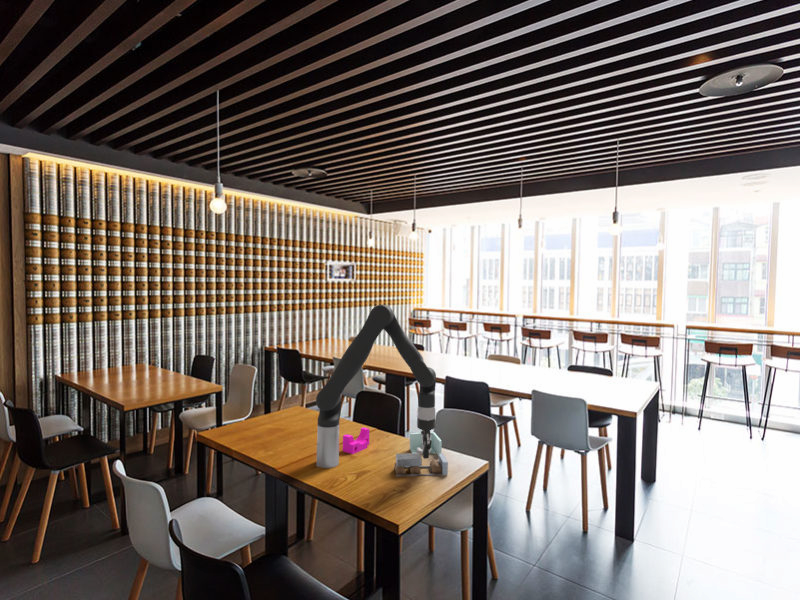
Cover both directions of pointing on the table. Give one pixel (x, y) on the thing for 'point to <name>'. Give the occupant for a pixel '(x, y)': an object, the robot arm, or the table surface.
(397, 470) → the roller bed
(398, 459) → the slab
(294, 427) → the table surface
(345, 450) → the magenta curved bracket
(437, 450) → the l-shaped corner panel
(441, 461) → the stop gate
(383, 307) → the robot arm
